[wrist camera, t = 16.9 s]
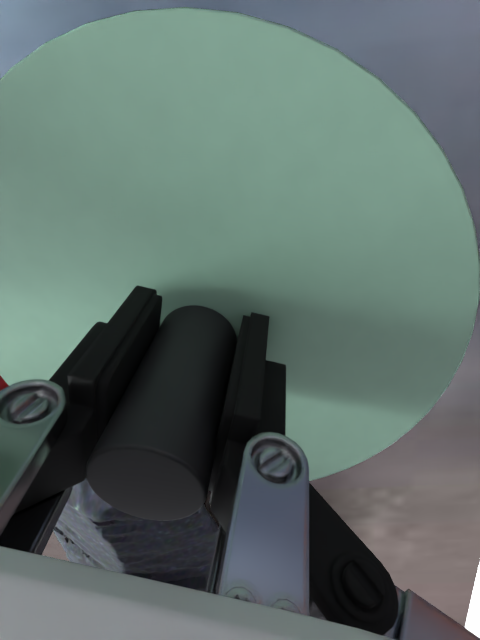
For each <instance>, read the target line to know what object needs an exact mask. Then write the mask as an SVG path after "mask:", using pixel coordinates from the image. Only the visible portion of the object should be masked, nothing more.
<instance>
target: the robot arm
mask: <svg viewBox="0 0 480 640" xmlns="http://www.w3.org/2000/svg"><path fill="white" fill-rule="evenodd" d="M161 308H162V296H160V295H157V291H156V290H155V289H151V288H147V287H143V286H138V285H137V286H136V287H135V288H134V289H133V290H132V292H131V293H130V294H129V296H128V297H127V298H126V300H125V301H124V302H123V303H122V305H121V306H120V307H119V309H118V310H117V311H116V313H115V314H114V315H113V316H112V318H111V319H110V320H109V322H108V323H104V322H97V323H96V324H95V325H94V326H93V327H92V328H91V329H90V331H89V332H88V333H87V334H86V335H85V337H84V338H83V339H82V340H81V341H80V343H79V344H78V345H77V346H76V348H75V349H74V350H73V351H72V352H71V354H70V355H69V356H68V357H67V359H66V360H65V361H64V362H63V363H62V365H61V366H60V367H59V368H58V370H57V371H56V372H55V373H54V374H53V376H52V377H51V378H50V379H49V381H48V380H42V379H31V380H24V381H20V382H17V383H14V384H12V385H10V386H8V387H6V388H4V389H2V390H1V391H0V640H480V638H479V637H477V636H476V635H475V634H473V633H472V632H470V631H469V630H467V629H466V628H464V627H463V626H462V625H460V624H459V623H457V622H456V621H454V620H453V619H452V618H450V617H449V616H447V615H446V614H444V613H443V612H441V611H440V610H439V609H437V608H436V607H434V606H433V605H431V604H430V603H428V602H427V601H426V600H424V599H423V598H421V597H420V596H418V595H417V594H416V593H414V592H413V591H411V590H410V589H408V590H406V591H405V592H404V591H402V590H401V589H399V588H398V587H397V586H395V585H394V583H393V581H392V579H391V577H390V574H389V573H388V572H387V570H386V569H385V568H384V566H383V565H382V563H381V562H380V561H379V560H378V559H377V558H376V557H375V555H374V554H373V553H372V552H371V551H370V550H369V549H368V548H367V547H366V545H365V544H364V543H363V542H362V541H361V540H360V539H359V538H358V536H357V535H356V534H355V533H354V532H353V531H352V530H351V529H350V528H349V526H348V525H347V524H346V523H345V522H344V521H343V520H342V519H341V518H340V516H339V515H338V514H337V513H336V512H335V511H334V510H333V509H332V508H331V506H330V505H329V504H328V503H327V502H326V501H325V500H324V499H323V498H322V496H321V495H320V494H319V493H318V492H317V491H316V490H315V489H314V487H313V486H312V485H311V484H310V483H309V465H308V459H307V457H306V455H305V453H304V451H303V450H302V449H301V447H300V446H299V445H298V444H297V443H296V442H295V441H293V440H292V439H290V438H289V437H287V436H285V428H286V365H285V364H281V363H277V362H272V361H268V360H266V351H267V339H268V328H269V316H266V315H262V314H258V313H254V312H251V315H250V316H245V315H243V319H242V323H241V327H240V331H239V335H238V339H237V343H236V348H235V352H234V357H233V362H232V367H231V372H230V377H229V381H228V386H227V391H226V396H225V401H224V406H223V410H222V415H221V420H220V425H219V430H218V435H217V439H216V444H215V458H214V463H213V468H212V473H211V478H210V483H209V488H208V491H212V492H211V497H210V502H209V504H210V505H211V506H210V510H211V511H212V513H213V514H214V516H215V517H216V519H217V520H218V522H219V523H220V525H219V529H218V534H217V539H216V544H215V548H214V553H213V558H212V563H211V568H210V572H209V577H208V582H207V587H206V592H203V591H198V590H194V589H190V588H185V587H181V586H177V585H172V584H168V583H163V582H159V581H155V580H150V579H146V578H141V577H137V576H132V575H128V574H123V573H119V572H114V571H110V570H105V569H101V568H96V567H92V566H87V565H83V564H78V563H74V562H69V561H65V560H60V559H56V558H51V557H47V556H42V553H43V551H44V548H45V546H46V544H47V542H48V540H49V538H50V536H51V534H52V532H53V530H54V528H55V526H56V524H57V521H58V519H59V517H60V515H61V513H62V511H63V509H64V507H65V505H66V503H67V501H68V499H69V497H70V494H71V492H72V489H73V486H74V485H76V484H78V483H80V482H82V481H84V480H85V478H86V464H87V461H88V459H89V457H90V455H91V453H92V452H93V450H94V448H95V446H96V444H97V442H98V440H99V439H100V437H101V435H102V433H103V431H104V429H105V427H106V426H107V424H108V422H109V420H110V418H111V416H112V414H113V413H114V411H115V409H116V407H117V405H118V403H119V401H120V400H121V398H122V396H123V394H124V392H125V390H126V388H127V387H128V385H129V383H130V381H131V379H132V377H133V376H134V374H135V372H136V370H137V368H138V366H139V364H140V363H141V361H142V359H143V357H144V355H145V353H146V351H147V350H148V348H149V346H150V344H151V342H152V340H153V338H154V337H155V335H156V333H157V331H158V329H159V327H160V318H161Z"/></svg>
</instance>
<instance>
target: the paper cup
mask: <svg viewBox="0 0 480 640" xmlns="http://www.w3.org/2000/svg"><path fill="white" fill-rule="evenodd" d="M8 386H9V385H8V384H7V383H6V382H5V380H4V379H3V378H2V377H1V375H0V391H1V390H2V389H4V388H6V387H8Z"/></svg>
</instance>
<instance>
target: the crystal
mask: <svg viewBox="0 0 480 640" xmlns="http://www.w3.org/2000/svg"><path fill="white" fill-rule="evenodd" d="M465 628H466V629H467V630H469V631H470V632H472V633H473V634H475V635H476V636H477V637H479V638H480V562H479V566H478V571H477V575H476V580H475V584H474V588H473V593H472V597H471V602H470V606H469V611H468V615H467V620H466V624H465Z"/></svg>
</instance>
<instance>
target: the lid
mask: <svg viewBox="0 0 480 640" xmlns="http://www.w3.org/2000/svg"><path fill="white" fill-rule="evenodd" d="M137 285H138V286H143V287H147V288H151V289H155V290H156V291H157V295H160V296H162V308H161V318H160V327H159V329H158V331H157V333H156V335H155V337H154V338H153V340H152V342H151V344H150V346H149V348H148V350H147V351H146V353H145V355H144V357H143V359H142V361H141V363H140V364H139V366H138V368H137V370H136V372H135V374H134V376H133V377H132V379H131V381H130V383H129V385H128V387H127V388H126V390H125V392H124V394H123V396H122V398H121V400H120V401H119V403H118V405H117V407H116V409H115V411H114V413H113V414H112V416H111V418H110V420H109V422H108V424H107V426H106V427H105V429H104V431H103V433H102V435H101V437H100V439H99V440H98V442H97V444H96V446H95V448H94V450H93V452H92V453H91V455H90V457H89V459H88V461H87V464H86V478H87V481H88V483H89V485H90V487H91V488H92V490H93V491H94V492H95V493H96V494H97V495H98V496H99V497H100V498H101V499H102V500H103V501H105V502H106V503H108V504H109V505H111V506H112V507H114V508H116V509H118V510H120V511H122V512H124V513H127V514H130V515H133V516H136V517H140V518H144V519H150V520H159V521H168V520H177V519H182V518H185V517H188V516H190V515H192V514H194V513H195V512H197V511H198V510H199V509H200V508H201V507H202V505H203V504H204V502H205V500H206V497H207V493H208V488H209V483H210V478H211V473H212V468H213V463H214V458H215V444H216V439H217V435H218V430H219V425H220V420H221V415H222V410H223V406H224V401H225V396H226V391H227V386H228V381H229V377H230V372H231V367H232V362H233V357H234V352H235V348H236V343H237V339H238V335H239V331H240V327H241V323H242V319H243V315H245V316H250V315H251V312H254V313H258V314H262V315H266V316H269V328H268V339H267V351H266V360H268V361H272V362H277V363H281V364H285V365H286V428H285V436H287V437H289V438H290V439H292V440H293V441H295V442H296V443H297V444H298V445H299V446H300V447H301V449H302V450H303V451H304V453H305V455H306V457H307V459H308V465H309V481H311V480H315V479H319V478H323V477H326V476H329V475H331V474H334V473H337V472H340V471H343V470H345V469H348V468H350V467H352V466H354V465H356V464H358V463H360V462H362V461H365V460H367V459H369V458H371V457H372V456H374V455H375V454H377V453H379V452H380V451H382V450H384V449H385V448H387V447H388V446H390V445H392V444H393V443H394V442H395V441H397V440H398V439H399V438H400V437H402V436H403V435H404V434H406V433H407V432H408V431H409V430H411V429H412V428H413V427H414V426H415V425H416V424H417V423H418V422H419V421H420V420H421V419H422V418H423V417H424V416H425V415H426V414H427V413H428V412H429V411H430V410H431V409H432V407H433V406H434V405H435V403H436V402H437V401H438V399H439V398H440V397H441V395H442V394H443V393H444V391H445V390H446V389H447V387H448V386H449V384H450V382H451V380H452V379H453V377H454V375H455V373H456V371H457V369H458V368H459V366H460V364H461V362H462V360H463V357H464V355H465V352H466V349H467V347H468V344H469V341H470V338H471V336H472V333H473V329H474V324H475V319H476V314H477V308H478V303H479V290H480V258H479V251H478V244H477V236H476V229H475V225H474V222H473V218H472V215H471V212H470V209H469V206H468V202H467V199H466V196H465V193H464V190H463V187H462V185H461V183H460V181H459V179H458V178H457V176H456V174H455V172H454V170H453V168H452V166H451V164H450V162H449V160H448V158H447V156H446V154H445V152H444V150H443V149H442V147H441V146H440V145H439V143H438V142H437V141H436V139H435V138H434V137H433V135H432V134H431V133H430V131H429V130H428V129H427V127H426V126H425V125H424V123H423V122H422V121H421V119H420V118H419V117H418V115H417V114H416V113H415V112H414V111H413V110H412V109H411V108H410V107H409V106H408V105H407V104H406V103H405V102H404V101H403V100H402V99H401V98H400V97H399V96H398V95H397V94H396V93H395V92H394V91H393V90H392V89H390V88H389V87H388V86H387V85H386V84H385V83H384V82H383V81H382V80H381V79H380V78H379V77H377V76H376V75H374V74H373V73H371V72H370V71H369V70H367V69H366V68H364V67H363V66H361V65H360V64H358V63H357V62H355V61H354V60H352V59H351V58H350V57H348V56H347V55H345V54H344V53H342V52H341V51H339V50H338V49H336V48H334V47H332V46H330V45H327V44H325V43H323V42H321V41H319V40H317V39H315V38H312V37H310V36H308V35H306V34H304V33H302V32H300V31H297V30H295V29H293V28H291V27H289V26H285V25H281V24H278V23H274V22H271V21H267V20H263V19H260V18H256V17H252V16H249V15H245V14H242V13H238V12H229V11H219V10H209V9H199V8H189V7H179V8H166V9H152V10H139V11H132V12H128V13H124V14H120V15H116V16H112V17H109V18H105V19H101V20H97V21H93V22H89V23H86V24H84V25H82V26H80V27H78V28H76V29H74V30H71V31H69V32H67V33H65V34H63V35H61V36H59V37H56V38H54V39H52V40H50V41H48V42H46V43H45V44H43V45H42V46H40V47H39V48H38V49H36V50H35V51H34V52H32V53H31V54H29V55H28V56H27V57H25V58H24V59H23V60H21V61H20V62H18V63H17V64H16V65H14V66H13V67H12V68H11V69H10V70H9V71H8V72H7V73H6V74H5V75H4V76H3V77H2V78H1V79H0V375H1V377H2V378H3V379H4V380H5V382H6V383H7V384H8V385H9V386H10V385H12V384H14V383H17V382H20V381H24V380H31V379H42V380H48V381H49V379H50V378H51V377H52V376H53V374H54V373H55V372H56V371H57V370H58V368H59V367H60V366H61V365H62V363H63V362H64V361H65V360H66V359H67V357H68V356H69V355H70V354H71V352H72V351H73V350H74V349H75V348H76V346H77V345H78V344H79V343H80V341H81V340H82V339H83V338H84V337H85V335H86V334H87V333H88V332H89V331H90V329H91V328H92V327H93V326H94V325H95V324H96V323H97V322H104V323H108V322H109V320H110V319H111V318H112V316H113V315H114V314H115V313H116V311H117V310H118V309H119V307H120V306H121V305H122V303H123V302H124V301H125V300H126V298H127V297H128V296H129V294H130V293H131V292H132V290H133V289H134V288H135V287H136V286H137Z"/></svg>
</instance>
